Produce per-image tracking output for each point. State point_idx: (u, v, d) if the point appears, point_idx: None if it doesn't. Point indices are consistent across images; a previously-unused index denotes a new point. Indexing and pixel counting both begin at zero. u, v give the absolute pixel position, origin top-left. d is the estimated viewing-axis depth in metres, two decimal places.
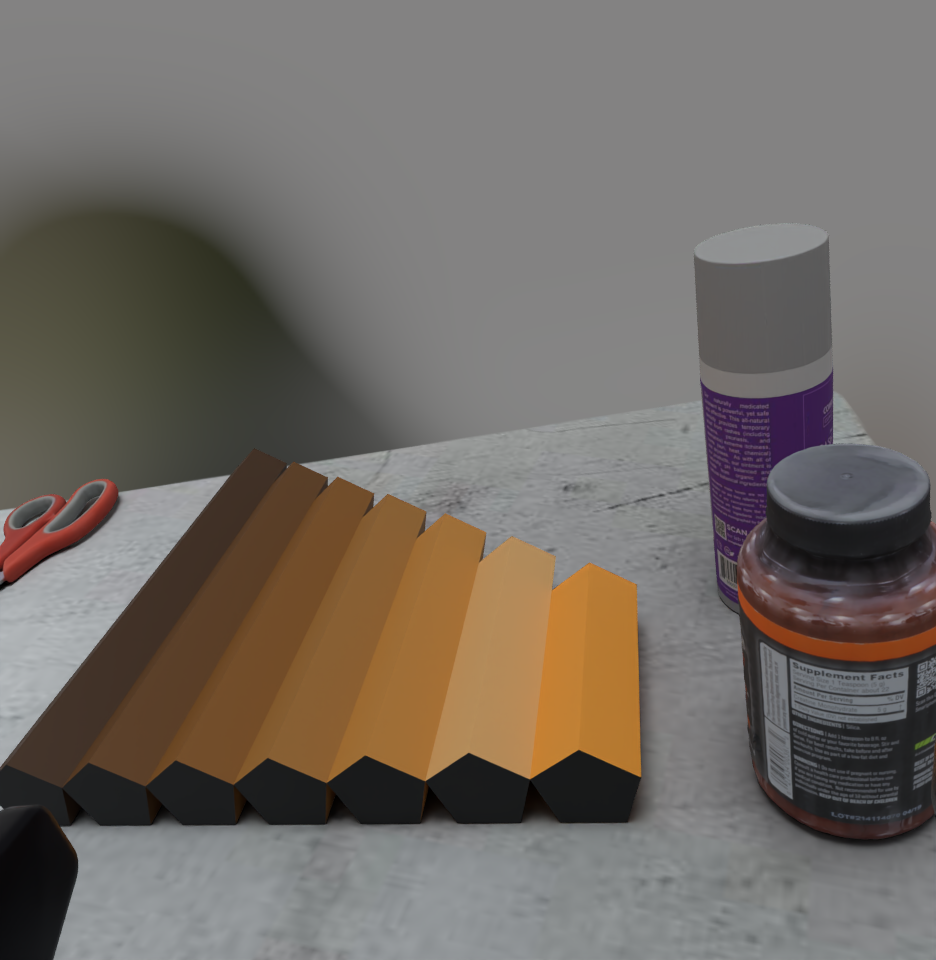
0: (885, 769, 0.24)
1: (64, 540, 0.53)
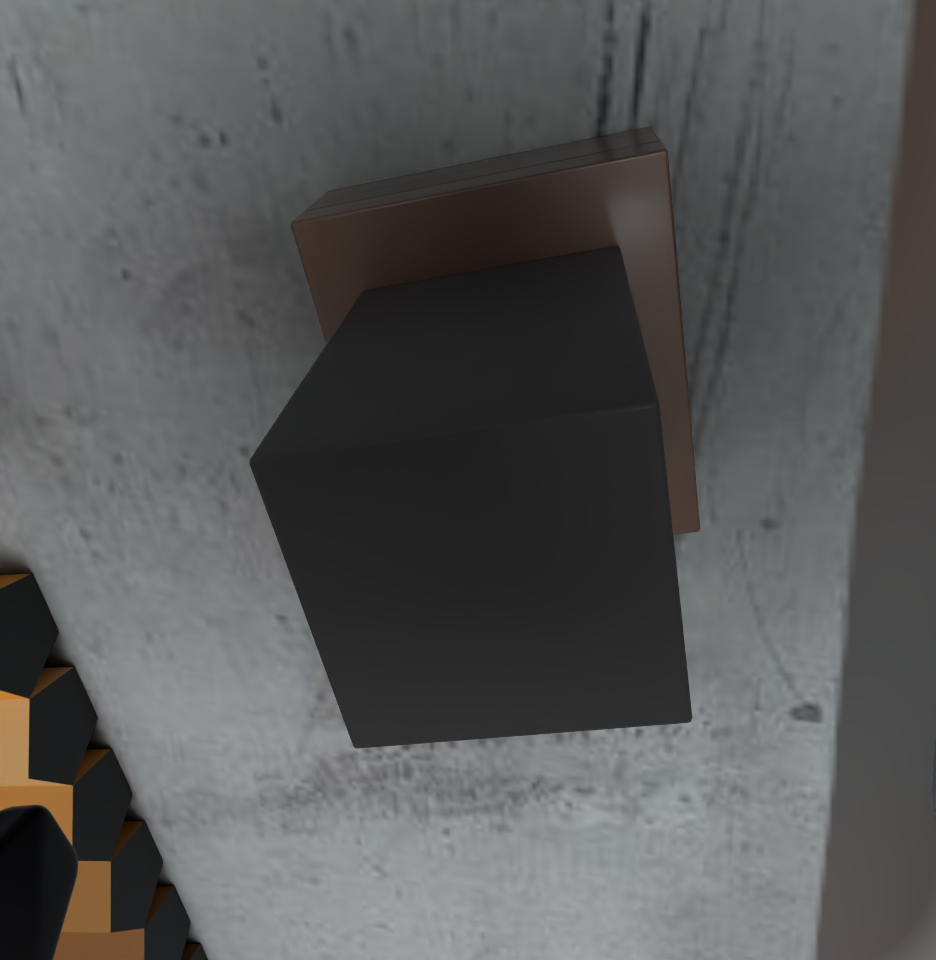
0: None
1: None
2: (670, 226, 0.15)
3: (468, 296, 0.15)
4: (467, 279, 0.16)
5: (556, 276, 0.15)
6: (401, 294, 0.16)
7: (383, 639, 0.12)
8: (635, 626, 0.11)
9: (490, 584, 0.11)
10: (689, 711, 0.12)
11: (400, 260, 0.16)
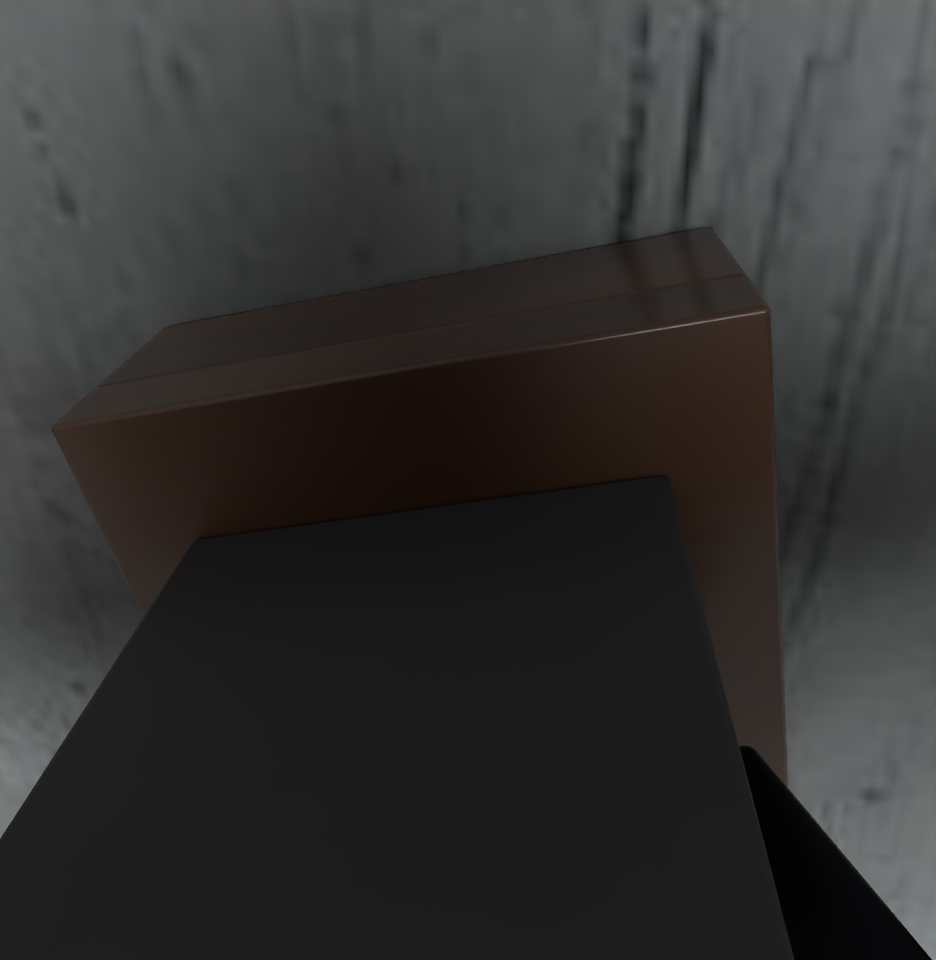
0: None
1: None
2: (768, 442, 0.08)
3: (371, 610, 0.07)
4: (379, 540, 0.08)
5: (550, 568, 0.07)
6: (254, 569, 0.08)
7: None
8: None
9: None
10: None
11: (259, 491, 0.09)
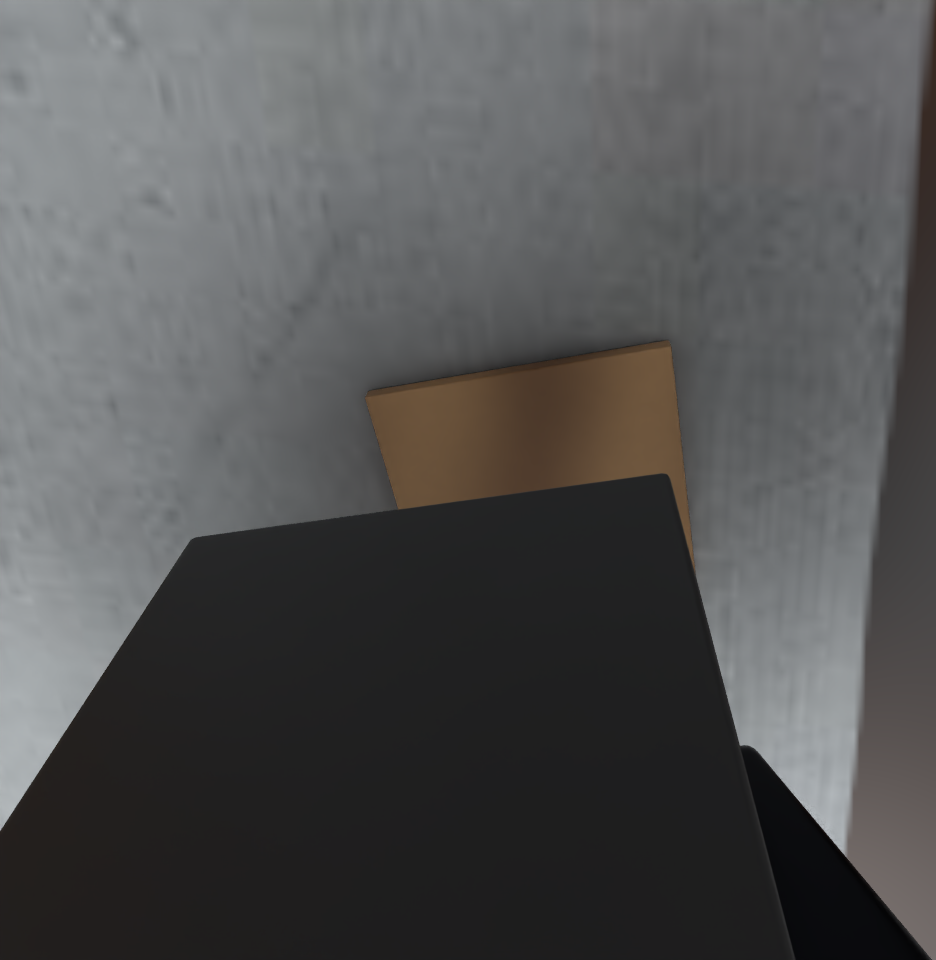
0: None
1: None
2: None
3: (370, 607, 0.07)
4: (378, 537, 0.08)
5: (549, 566, 0.07)
6: (252, 567, 0.08)
7: None
8: None
9: None
10: None
11: None
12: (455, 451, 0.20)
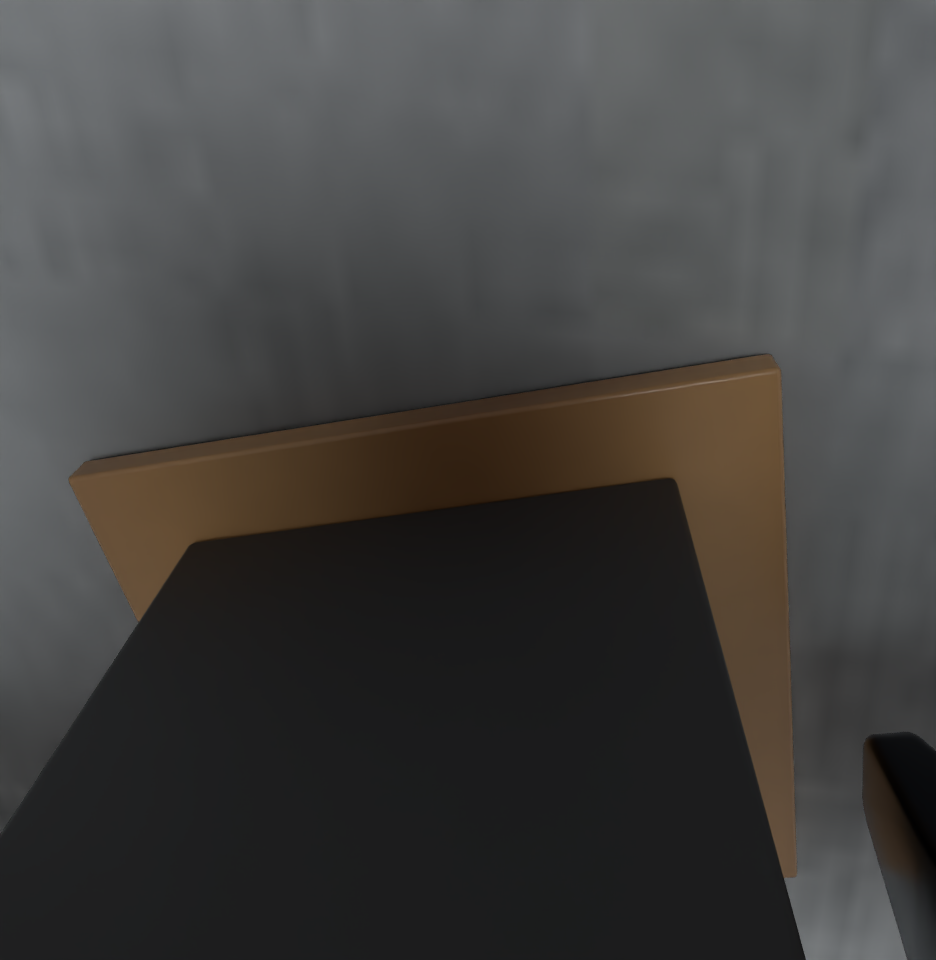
0: None
1: None
2: None
3: (371, 616, 0.07)
4: (379, 543, 0.08)
5: (553, 572, 0.07)
6: (251, 573, 0.08)
7: None
8: None
9: None
10: None
11: None
12: None
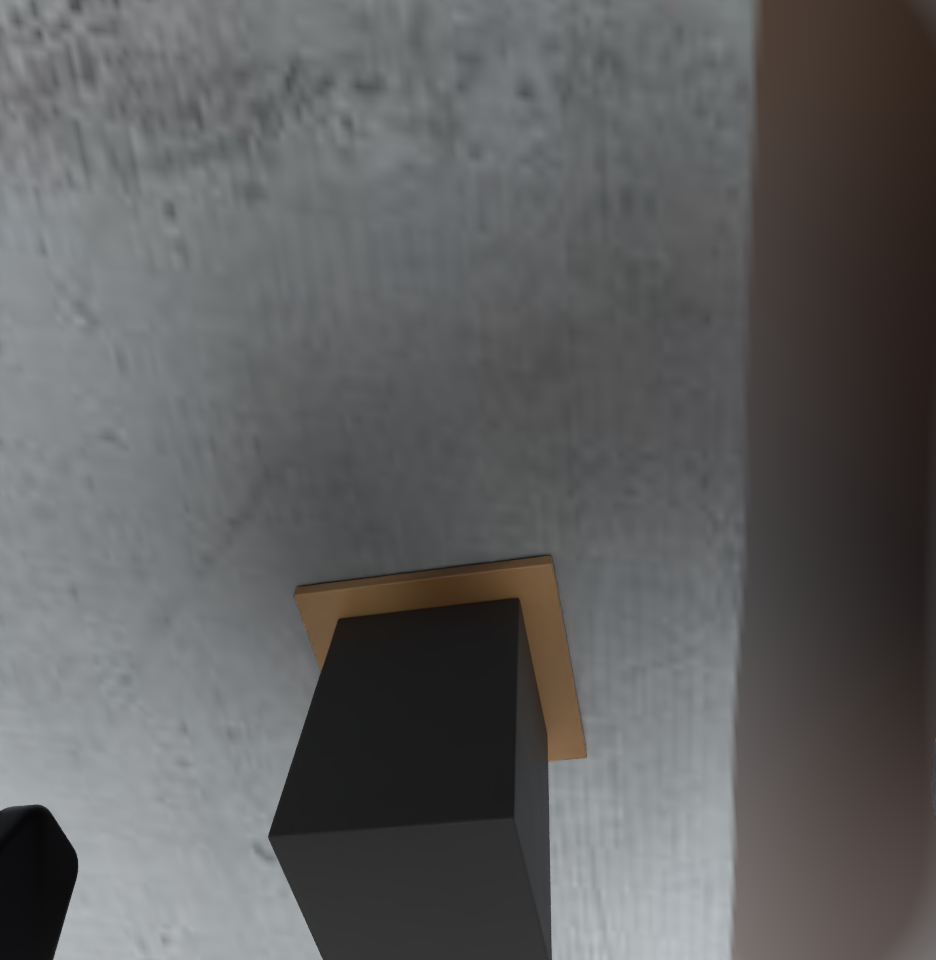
0: None
1: None
2: None
3: (412, 648, 0.21)
4: (412, 621, 0.22)
5: (472, 634, 0.21)
6: (366, 632, 0.22)
7: (351, 926, 0.18)
8: (510, 923, 0.18)
9: (419, 900, 0.18)
10: None
11: None
12: None
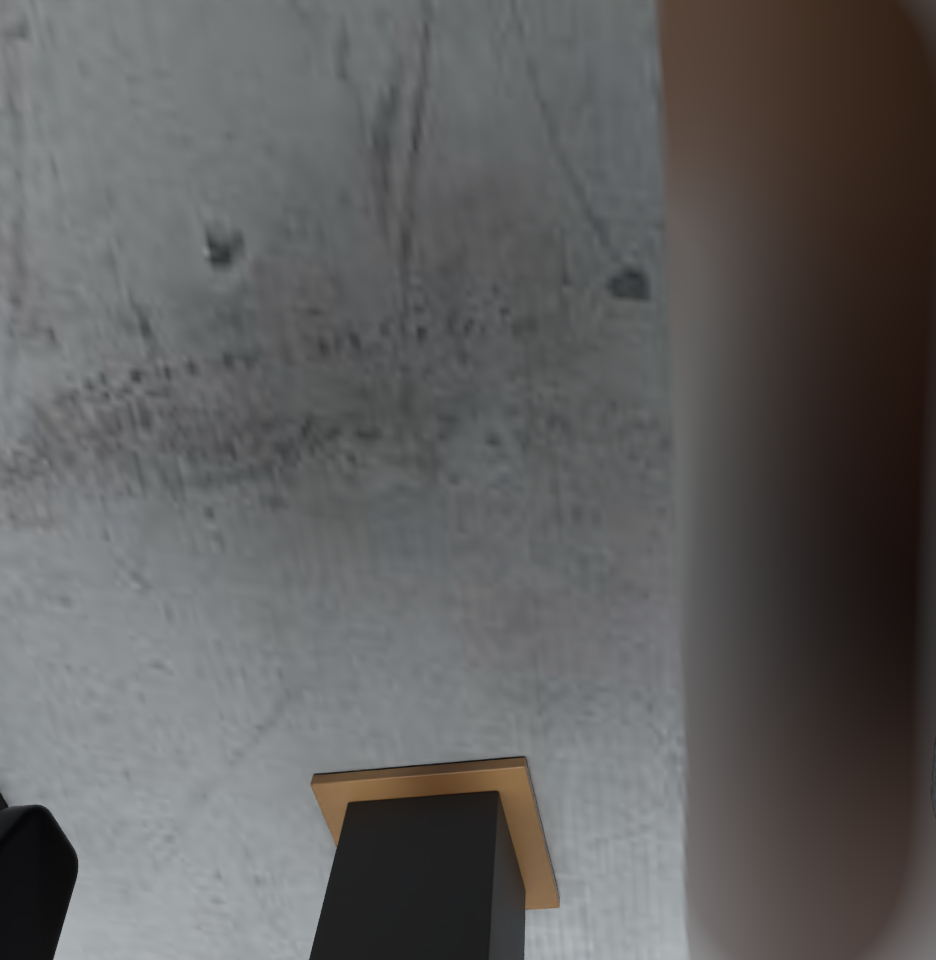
0: None
1: None
2: None
3: (408, 840, 0.26)
4: (409, 810, 0.27)
5: (458, 828, 0.26)
6: (371, 819, 0.27)
7: None
8: None
9: None
10: None
11: None
12: None
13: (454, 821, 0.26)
